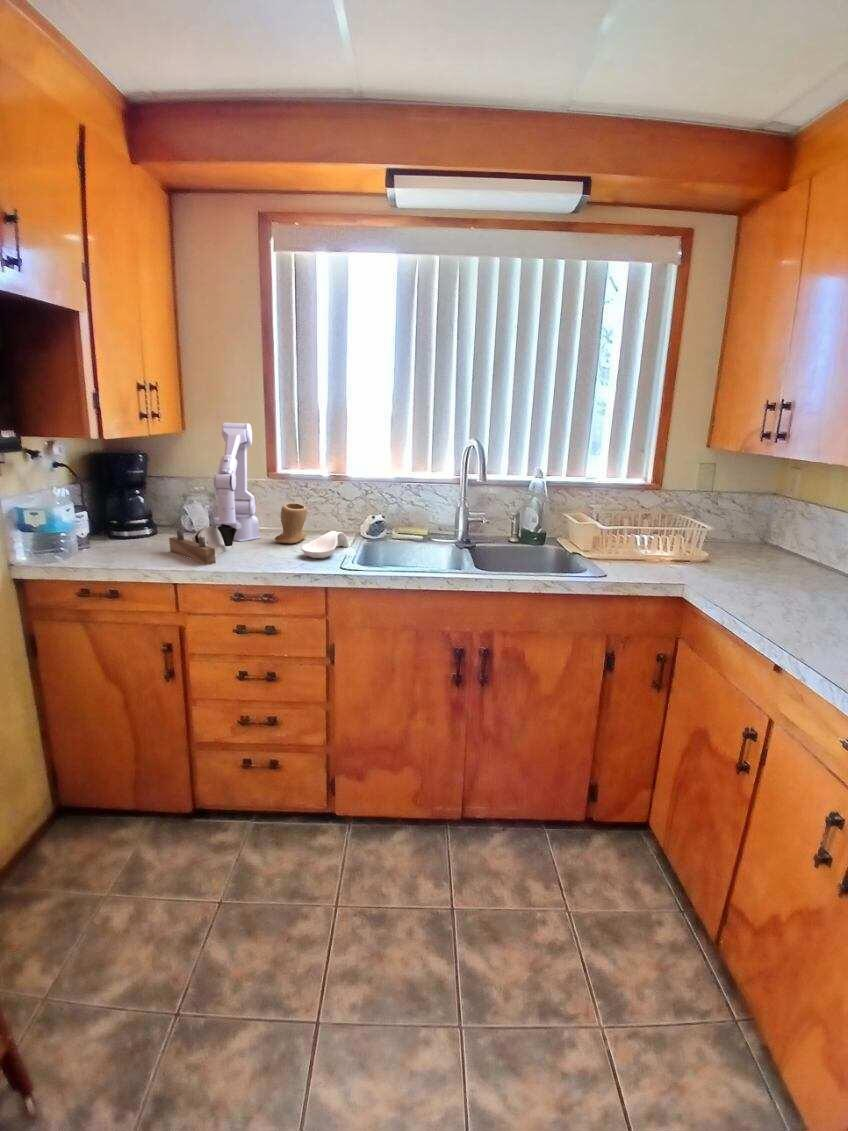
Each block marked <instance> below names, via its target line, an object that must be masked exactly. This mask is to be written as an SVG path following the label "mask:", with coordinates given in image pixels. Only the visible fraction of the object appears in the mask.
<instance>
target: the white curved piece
mask: <svg viewBox="0 0 848 1131" xmlns="http://www.w3.org/2000/svg"><path fill="white" fill-rule="evenodd" d="M217 527H219V525H211V526H206V527H203V528H201V529H199V530H198V531H196V532H194V534H193V536H192V537H191V539H192V540H191V541H193V542H196V543H199V539H198V538H199V537H205V546H209V547H212V548H215V555H216V554H218V553H220V554H222V553H224V552H226V551H227V549H228V550H230V549H232V548H234V546H233V544H232V546H225V544H224V541H223V538H222V535H221V533H220V531H219V530H218V528H217ZM229 548H230V549H229ZM225 550H226V551H225ZM223 551H224V552H223ZM221 552H222V553H221ZM218 555H219V554H218ZM216 556H217V555H216Z"/></svg>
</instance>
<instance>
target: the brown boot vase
mask: <svg viewBox="0 0 848 1131" xmlns="http://www.w3.org/2000/svg"><path fill="white" fill-rule="evenodd" d="M307 511H308V508H307V507H306V505H304V504H302V503H298V502H286V503H284V504H283V505H282V507H281V511H280V522H281V527H282V532H281V533H280V534H279V535H277V536H276V537H274V541H275V542H277V543H281V544H282V543H283V544H295V543H298V542H301V541H302V540H304V538H306V537H307V536H308V534H307V532H304V531H303V527H304V525H305V522H306V519H307V515H308V514H307V513H308V512H307Z"/></svg>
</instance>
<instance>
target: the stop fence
mask: <svg viewBox="0 0 848 1131" xmlns="http://www.w3.org/2000/svg"><path fill="white" fill-rule="evenodd" d="M168 539H169V540H168V542H169V551H170V553H172V552H173V554H175V553H176V555H178V554H179V555H178V556H181V555H182V556H181V557H183V556H185V558H186V557H188V558H187V559H189V558H191V559H190V560H192V559H194V560H193V561H195V560H196V561H195V562H198V561H199V562H198V563H200V562H202V563H201V564H203V563H204V565H206V564H209V565H214V564H217V562H216V556H215V548H212V547H209V546H205V537H199V538H198V539H199V543H196V542H193V541H192V540H190V539H186V538H184V531H183V530H176V536H173V537H169V538H168ZM213 563H214V564H213Z"/></svg>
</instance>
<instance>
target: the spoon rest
mask: <svg viewBox="0 0 848 1131" xmlns="http://www.w3.org/2000/svg"><path fill="white" fill-rule="evenodd" d="M340 546H343V547H342V548H349V547H350V546H349V540H348V538H347V536H346V534H345V533H344V532H342V531H337V530H331V531H329V532H328V531H327V533H325V534H323V535H321V536H320V537H317V538H316V539H314V540H311V541H309V542H307V543H305V544H303V545H302V546H301V549H300V550H301V552H303V554H305V555H306V556H307V557H309V558H312V559H316V558H321V559H326V557H327V558H329V556H331V555H332V554H333V553H334V552H335V550H336V547H340Z"/></svg>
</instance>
